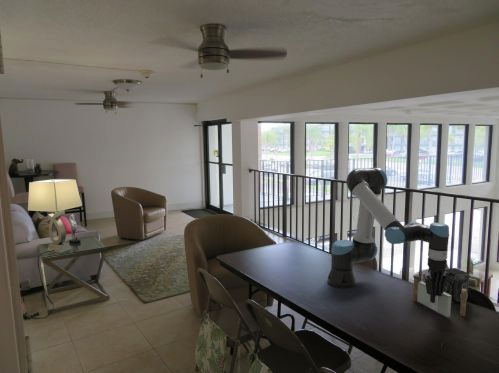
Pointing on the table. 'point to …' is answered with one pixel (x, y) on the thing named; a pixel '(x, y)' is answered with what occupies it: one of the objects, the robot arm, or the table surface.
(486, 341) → the table surface
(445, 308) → the gate
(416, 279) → the hinge post
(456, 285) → the camera
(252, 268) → the table surface
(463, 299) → the post
